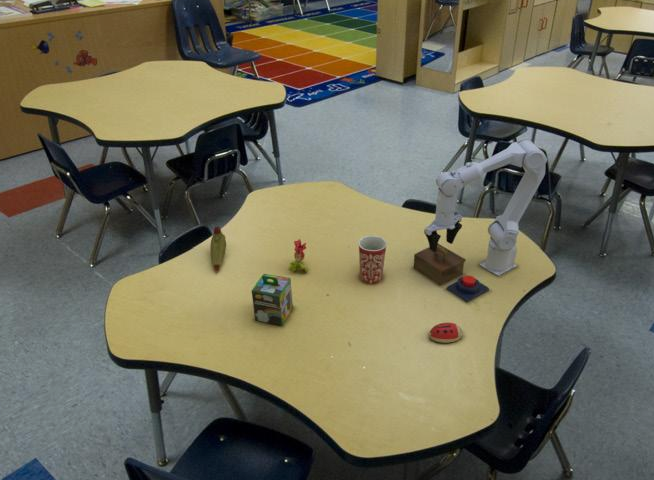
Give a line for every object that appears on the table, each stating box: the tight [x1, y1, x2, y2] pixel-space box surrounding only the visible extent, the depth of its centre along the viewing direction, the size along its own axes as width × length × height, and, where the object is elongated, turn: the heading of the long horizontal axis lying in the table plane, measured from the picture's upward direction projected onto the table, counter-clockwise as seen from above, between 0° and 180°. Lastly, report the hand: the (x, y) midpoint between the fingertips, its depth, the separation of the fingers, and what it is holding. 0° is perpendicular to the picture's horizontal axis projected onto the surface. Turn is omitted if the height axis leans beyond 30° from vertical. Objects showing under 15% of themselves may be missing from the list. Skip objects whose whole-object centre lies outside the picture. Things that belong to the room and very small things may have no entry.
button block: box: [446, 276, 490, 303], centre depth 184 cm, size 10×8×3 cm
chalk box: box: [251, 273, 294, 327], centre depth 173 cm, size 9×9×15 cm
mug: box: [357, 235, 388, 285], centre depth 190 cm, size 13×9×14 cm
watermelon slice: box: [428, 322, 463, 344], centre depth 166 cm, size 7×10×4 cm
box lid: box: [414, 243, 467, 272], centre depth 191 cm, size 11×12×4 cm
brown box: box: [412, 255, 465, 286], centre depth 193 cm, size 10×12×5 cm
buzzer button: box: [462, 275, 477, 287], centre depth 183 cm, size 4×4×2 cm
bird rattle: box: [288, 238, 308, 273], centre depth 195 cm, size 6×11×9 cm
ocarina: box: [209, 226, 227, 272], centre depth 201 cm, size 20×5×10 cm, turn 4°
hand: (441, 246), depth 189 cm, fingers open, 7 cm apart
